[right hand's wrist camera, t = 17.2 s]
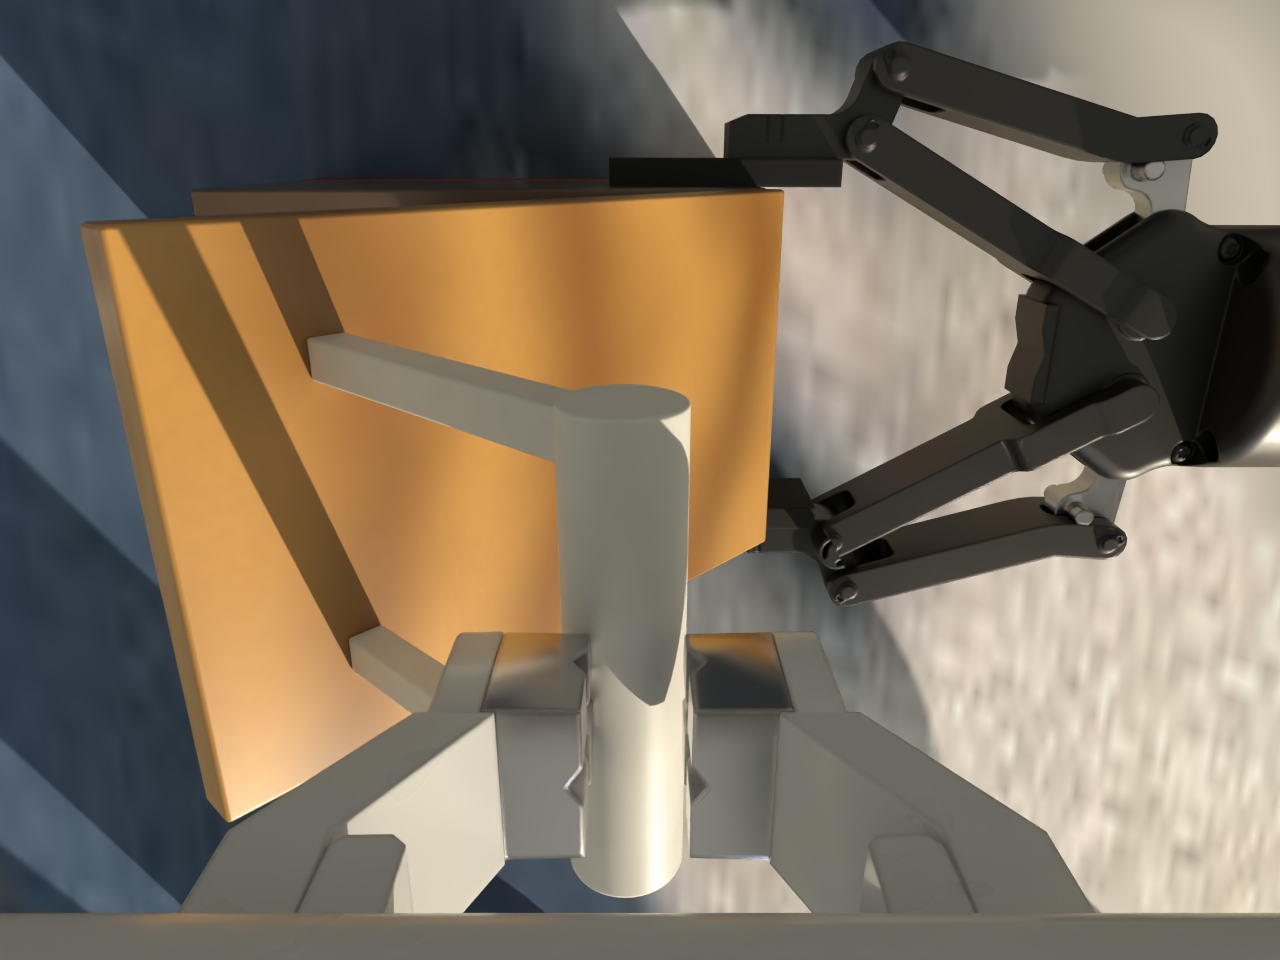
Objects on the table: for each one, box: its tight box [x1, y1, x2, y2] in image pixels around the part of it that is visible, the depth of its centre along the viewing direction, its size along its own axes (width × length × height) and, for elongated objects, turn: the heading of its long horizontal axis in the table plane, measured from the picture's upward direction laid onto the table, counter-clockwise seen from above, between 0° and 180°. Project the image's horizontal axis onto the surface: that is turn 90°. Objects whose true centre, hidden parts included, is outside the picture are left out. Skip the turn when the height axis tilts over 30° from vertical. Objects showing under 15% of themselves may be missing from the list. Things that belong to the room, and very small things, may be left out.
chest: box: [191, 179, 765, 216], centre depth 29 cm, size 15×10×9 cm, turn 90°
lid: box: [80, 189, 784, 898], centre depth 16 cm, size 16×10×8 cm
